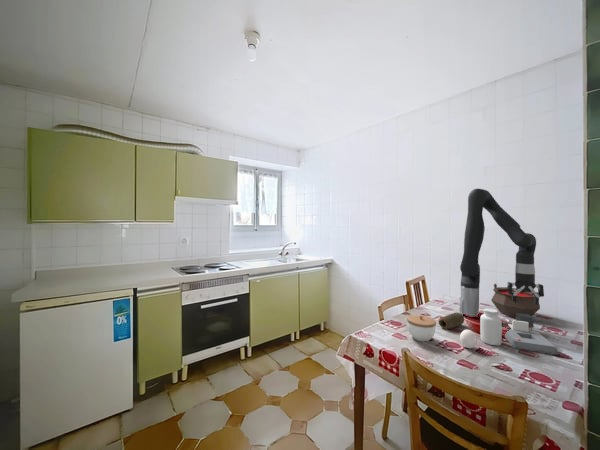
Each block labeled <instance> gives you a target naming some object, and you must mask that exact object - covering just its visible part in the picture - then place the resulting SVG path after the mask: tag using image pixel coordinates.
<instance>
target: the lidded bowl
mask: <svg viewBox="0 0 600 450" xmlns="http://www.w3.org/2000/svg"><path fill="white" fill-rule="evenodd" d="M406 317H407V318H406V322H407V323H406V325H407V330H408V332H409V333H410V335H411V336H412V338H413V339H414V340H415V341H419V342H422V341H423V343H425V342H424V341H427V342H429V341H430V340H431V339H433V337H434V336H435V333H436V328H437V327H436V325H437V321H436V320H435V319H434V318H432V317H430V316H427V315H422V314H411V315H408V316H406Z"/></svg>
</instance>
